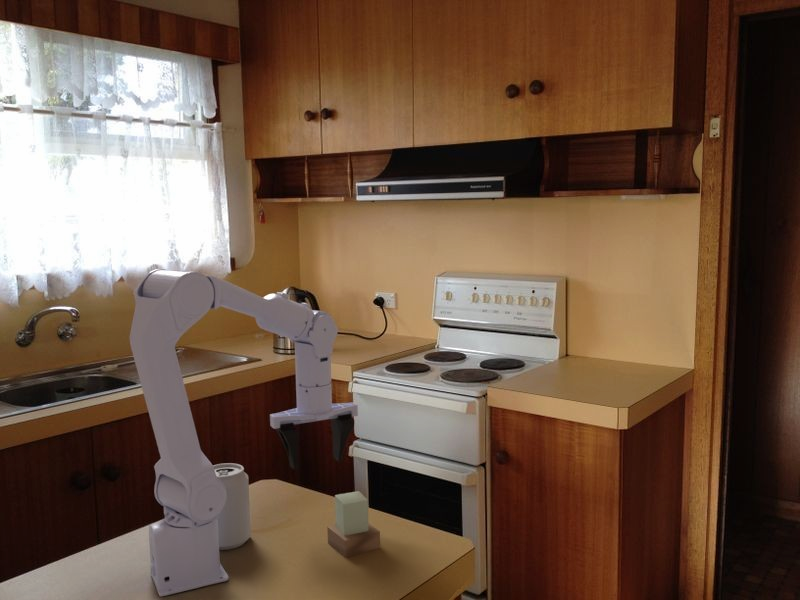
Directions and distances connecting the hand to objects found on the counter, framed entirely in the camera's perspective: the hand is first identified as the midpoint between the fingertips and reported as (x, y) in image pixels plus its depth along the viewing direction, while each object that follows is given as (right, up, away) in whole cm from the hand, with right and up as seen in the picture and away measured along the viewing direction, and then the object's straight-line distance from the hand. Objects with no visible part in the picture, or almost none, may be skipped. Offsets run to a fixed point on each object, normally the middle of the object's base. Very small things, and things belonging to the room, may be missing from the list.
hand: (316, 463), depth 123 cm
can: (-14, -12, -5) cm, 18 cm away
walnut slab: (+7, -12, -7) cm, 15 cm away
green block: (+6, -9, -7) cm, 13 cm away
